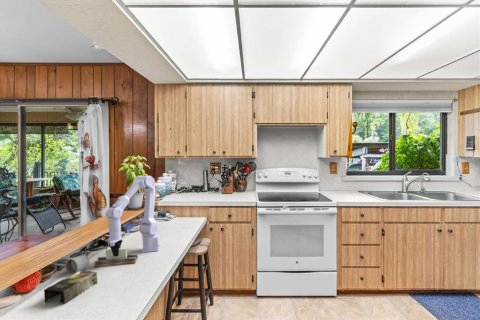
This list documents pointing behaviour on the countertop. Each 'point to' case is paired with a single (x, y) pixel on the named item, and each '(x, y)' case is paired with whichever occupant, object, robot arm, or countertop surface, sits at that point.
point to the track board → (116, 261)
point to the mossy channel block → (71, 286)
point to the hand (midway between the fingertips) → (116, 255)
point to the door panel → (121, 254)
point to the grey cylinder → (76, 264)
